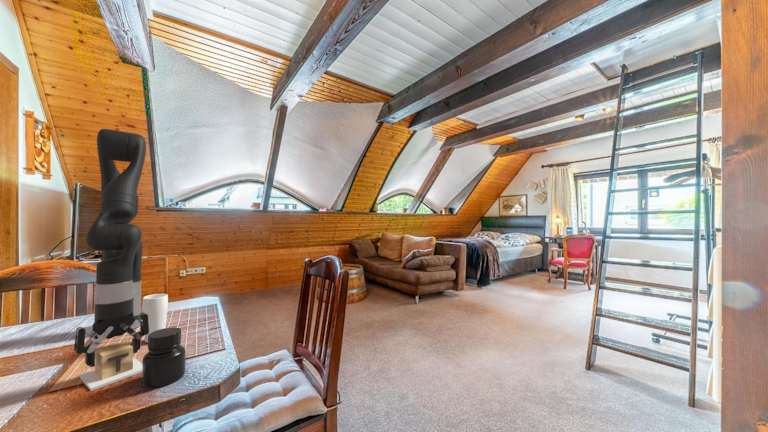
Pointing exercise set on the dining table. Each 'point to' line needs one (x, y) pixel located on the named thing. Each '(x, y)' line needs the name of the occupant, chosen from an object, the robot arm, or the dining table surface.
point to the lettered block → (113, 360)
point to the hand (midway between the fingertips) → (114, 358)
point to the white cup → (155, 311)
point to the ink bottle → (163, 358)
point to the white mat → (96, 382)
